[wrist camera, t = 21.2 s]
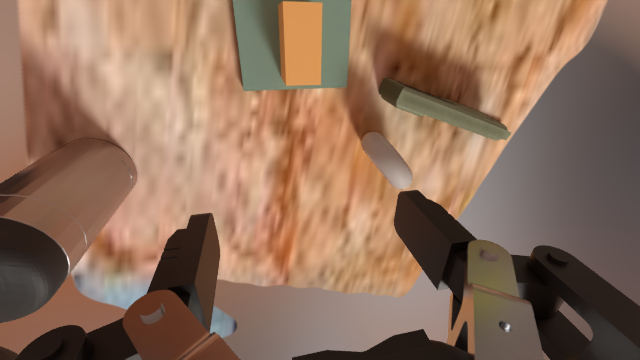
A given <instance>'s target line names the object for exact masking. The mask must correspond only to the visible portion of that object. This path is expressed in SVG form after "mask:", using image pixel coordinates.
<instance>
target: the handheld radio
mask: <svg viewBox="0 0 640 360" xmlns="http://www.w3.org/2000/svg"><path fill="white" fill-rule="evenodd" d="M379 94H380V95H381V97H382V98H383V99H384V100H386V101H387V102H389V103H390V104H392V105H393V106H395V107H396V108H399V109H401V110H404V111H407V112H410V113H413V114H415V115H418V116H424V115H426V116H429V117H432V118H435V119H437V120H440V121H443V122H446V123H449V124H451V125H454V126H457V127H460V128H462V129H465V130H468V131H471V132H473V133H476V134H479V135H482V136H485V137H487V138H490V139H493V140H500V139H504V140H507V138H508V137H509V136H510V134H511V132H509V131H507V128H506V126H505V125H503V124H502V123H500V122H499V121H496V120H494V119H492V118H489V116H488V115H485V114H483V113H481V112H478V111H476V110H474V109H472V108H469V107H466V106H464V105H461V104H459V103H456V102H454V101H451V100H449V99H443V98H441V97H436V96H434V95H431V94H428V93H426V92H423V91H421V90H418V89H416V88H413V87H411V86H408V85H406V84H403V83H401V82H397V81H395V80H392V79H390V78H385V79H383V81H382V83H381V86H380V88H379Z"/></svg>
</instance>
